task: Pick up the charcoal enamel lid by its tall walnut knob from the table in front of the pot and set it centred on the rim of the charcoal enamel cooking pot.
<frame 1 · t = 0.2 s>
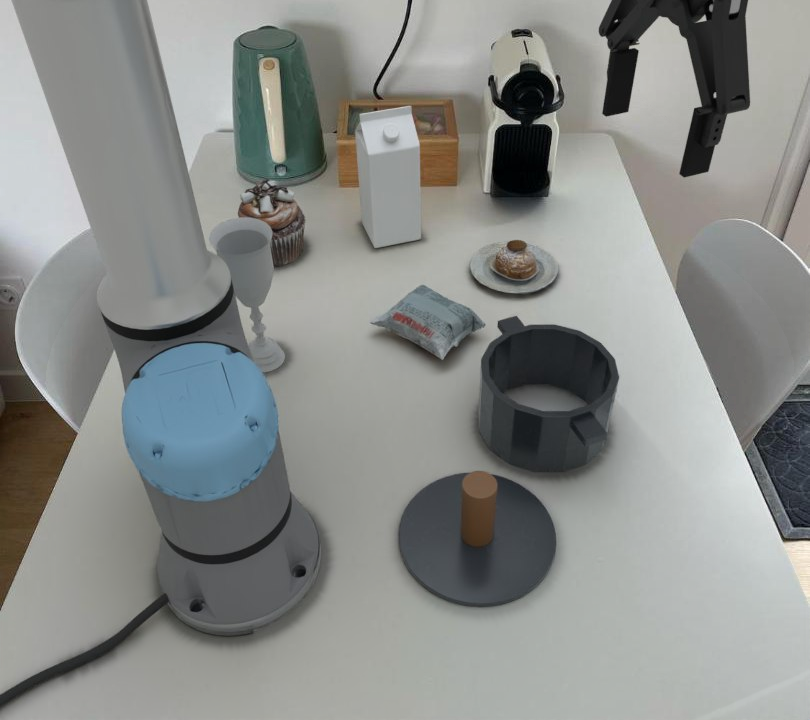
hand: (652, 141, 81), 28 cm above the table, tool pointing down, fingers open, 13 cm apart
lid: (476, 536, 79), point 1 cm above the table
chalice: (264, 359, 100), on the table
milk carton: (391, 232, 120), on the table
pastry: (513, 273, 112), on the table
cupcake: (275, 251, 117), on the table
packaged food: (427, 338, 102), on the table
pot: (541, 426, 90), on the table
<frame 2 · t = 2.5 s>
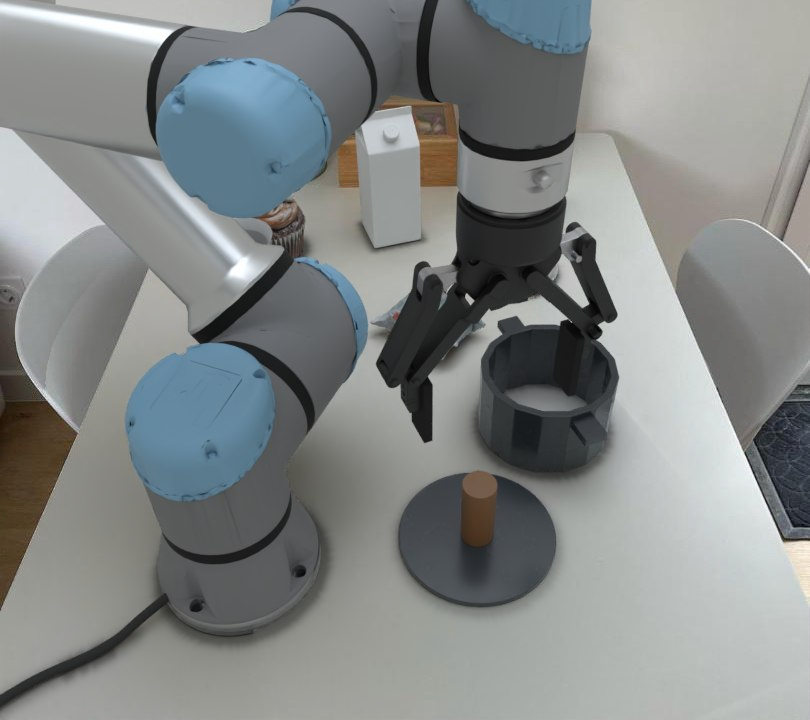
hand: (494, 408, 70), 16 cm above the table, tool pointing down, fingers open, 13 cm apart
nothing on the table moved.
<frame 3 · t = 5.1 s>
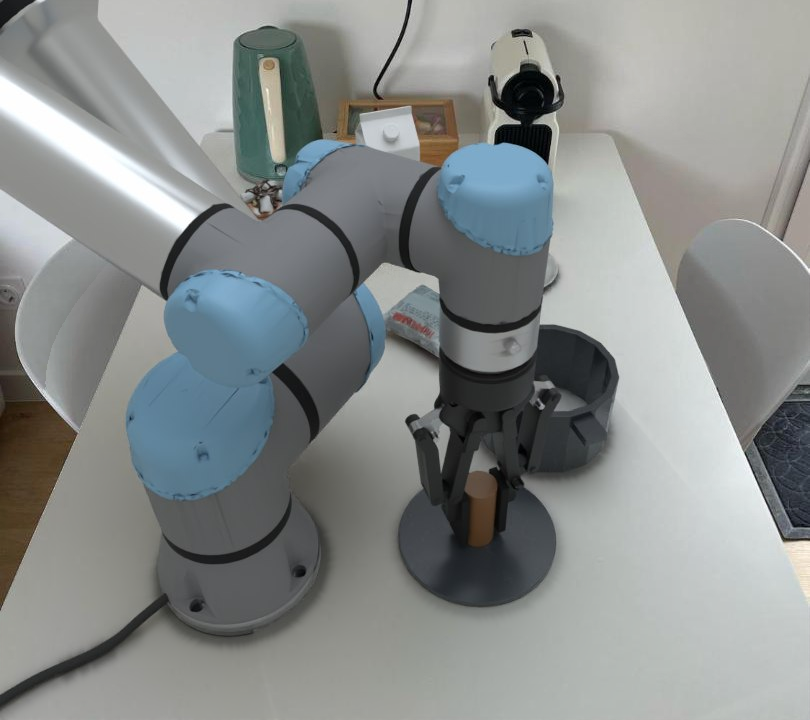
hand: (477, 527, 78), 2 cm above the table, tool pointing down, fingers closed on lid, 3 cm apart
lid: (476, 536, 79), point 1 cm above the table, touching gripper
everything else where it was.
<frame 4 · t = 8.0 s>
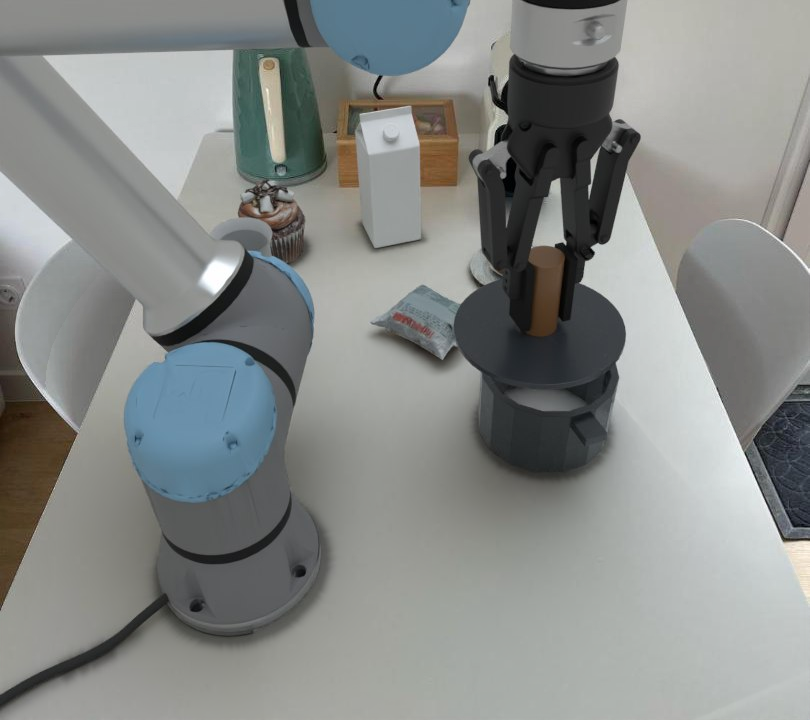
hand: (539, 316, 72), 21 cm above the table, tool pointing down, fingers closed on lid, 3 cm apart
lid: (538, 330, 73), point 19 cm above the table, touching gripper
everything else where it was.
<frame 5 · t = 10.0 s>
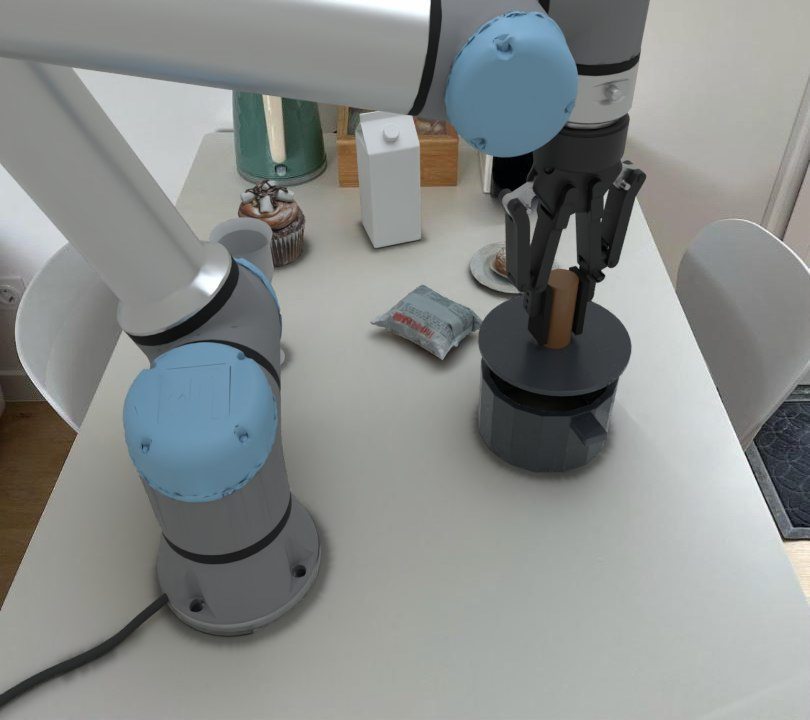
hand: (554, 331, 81), 14 cm above the table, tool pointing down, fingers closed on lid, 3 cm apart
lid: (553, 343, 82), point 12 cm above the table, touching gripper
everything else where it was.
when the fingers open (11 cm above the table, at t = 11.1 s): lid stays where it is, resting on pot.
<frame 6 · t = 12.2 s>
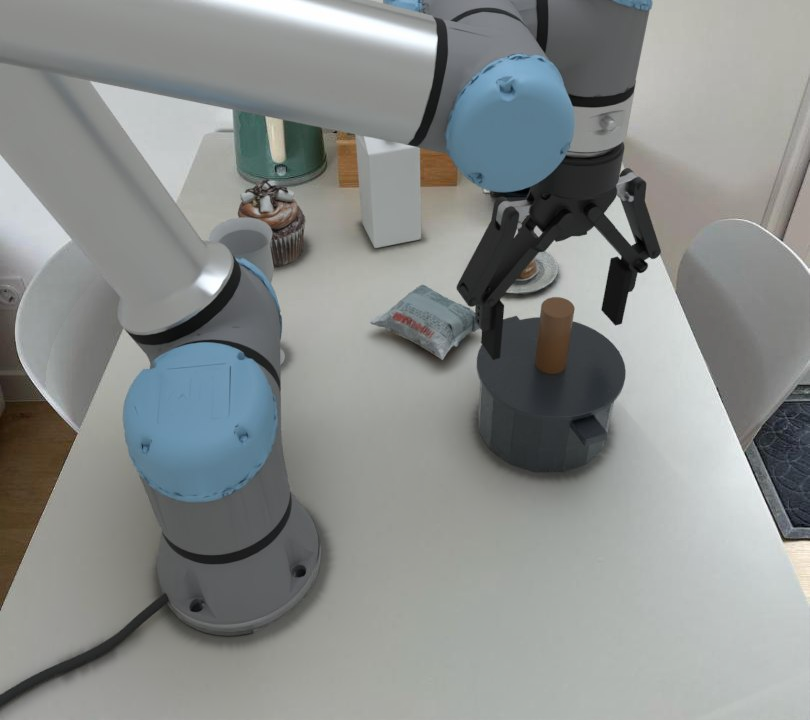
hand: (552, 333, 81), 14 cm above the table, tool pointing down, fingers open, 13 cm apart
lid: (549, 367, 84), point 9 cm above the table, touching pot
everything else where it was.
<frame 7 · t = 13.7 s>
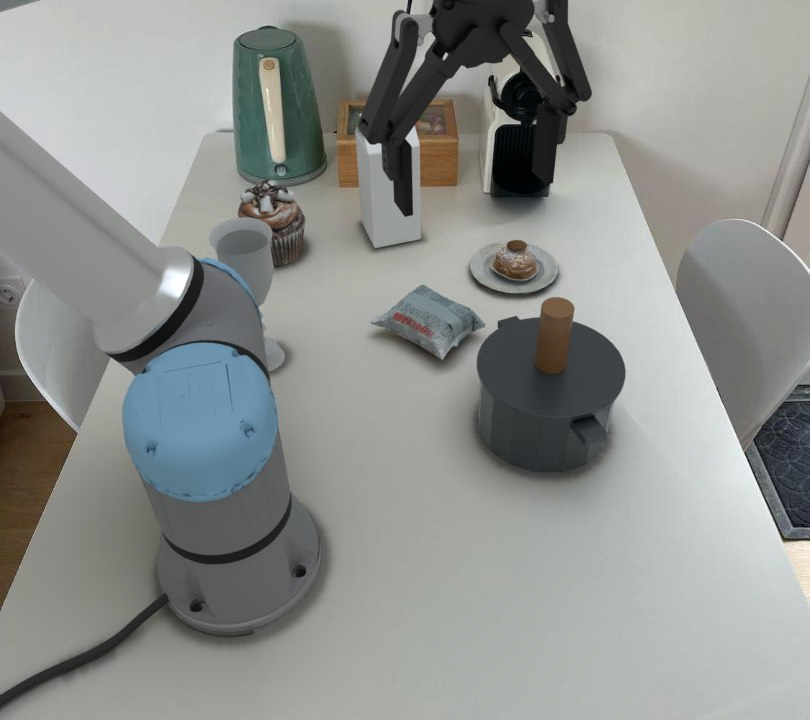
hand: (474, 192, 73), 29 cm above the table, tool pointing down, fingers open, 13 cm apart
nothing on the table moved.
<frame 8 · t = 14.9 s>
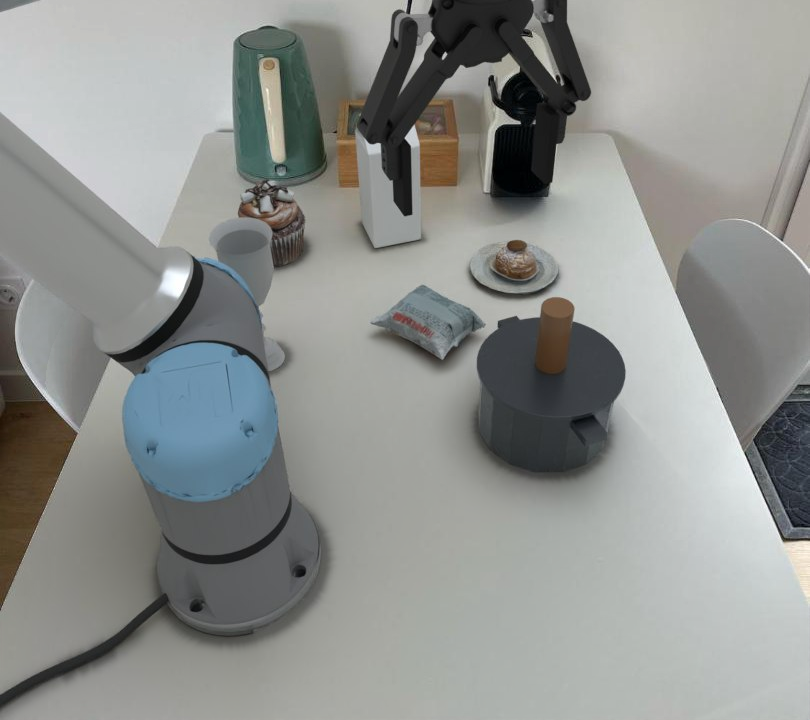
hand: (473, 192, 73), 29 cm above the table, tool pointing down, fingers open, 13 cm apart
nothing on the table moved.
at the end: lid 0.1 cm off-centre on the pot, point 9.0 cm above the pot's base; lid tilted 0°; the gripper is holding nothing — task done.
